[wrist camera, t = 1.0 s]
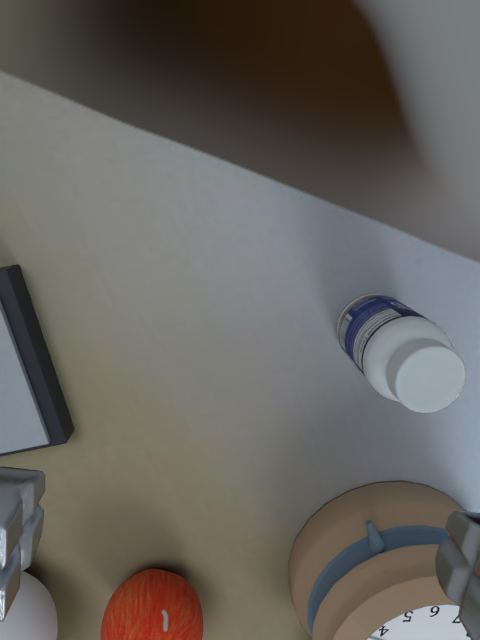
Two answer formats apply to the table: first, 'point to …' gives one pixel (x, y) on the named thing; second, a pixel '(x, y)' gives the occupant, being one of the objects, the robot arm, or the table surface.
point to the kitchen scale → (26, 375)
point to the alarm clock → (375, 566)
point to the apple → (153, 609)
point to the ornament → (30, 613)
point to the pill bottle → (401, 353)
